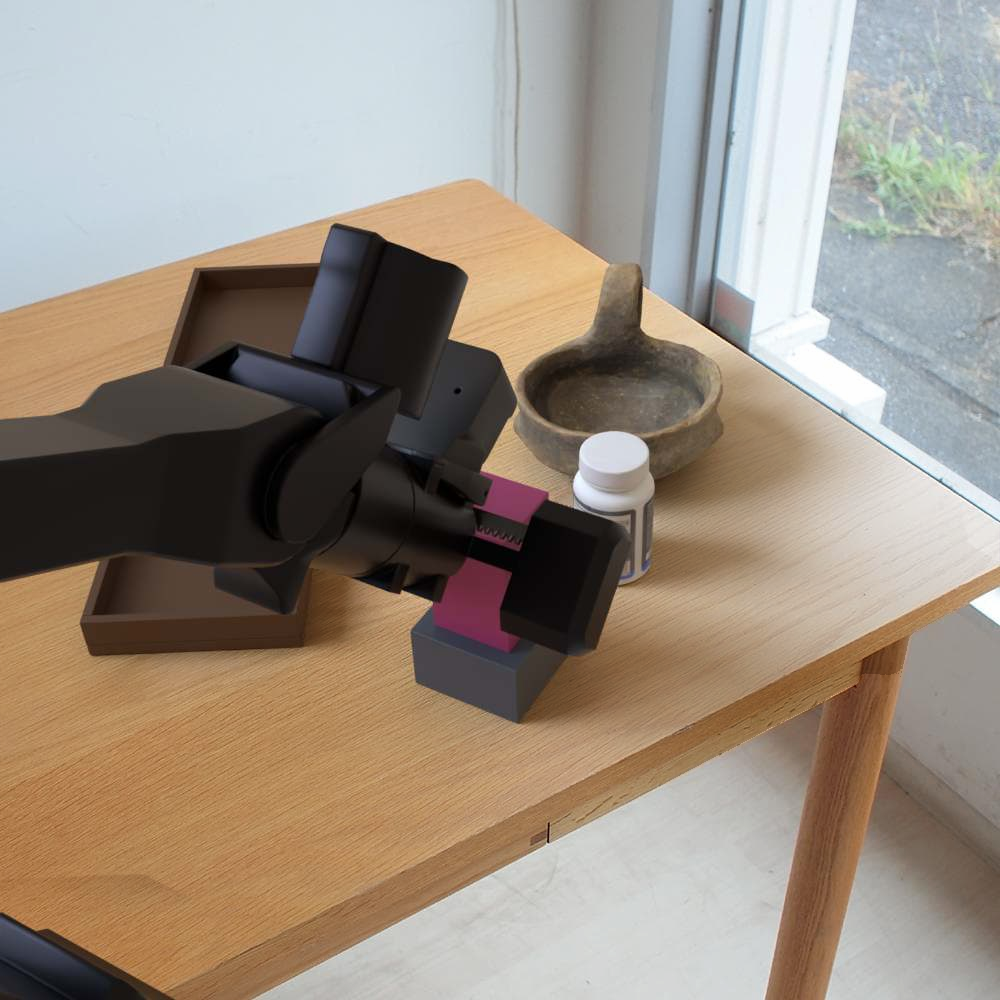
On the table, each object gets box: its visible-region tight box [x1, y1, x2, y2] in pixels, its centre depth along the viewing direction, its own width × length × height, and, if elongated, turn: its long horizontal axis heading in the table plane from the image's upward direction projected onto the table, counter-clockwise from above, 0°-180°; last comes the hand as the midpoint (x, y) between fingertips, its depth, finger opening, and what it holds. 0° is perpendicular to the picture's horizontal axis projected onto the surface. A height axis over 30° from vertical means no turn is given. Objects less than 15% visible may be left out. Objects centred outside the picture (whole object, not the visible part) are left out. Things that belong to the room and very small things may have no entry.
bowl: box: [512, 262, 725, 481], centre depth 87 cm, size 14×18×10 cm
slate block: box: [409, 604, 568, 724], centre depth 73 cm, size 6×6×4 cm
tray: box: [79, 262, 320, 656], centre depth 91 cm, size 41×12×3 cm, turn 1°
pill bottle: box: [572, 431, 656, 586], centre depth 78 cm, size 5×5×8 cm
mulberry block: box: [431, 470, 550, 653], centre depth 69 cm, size 5×5×8 cm
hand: (494, 552), depth 69 cm, fingers open, 9 cm apart
